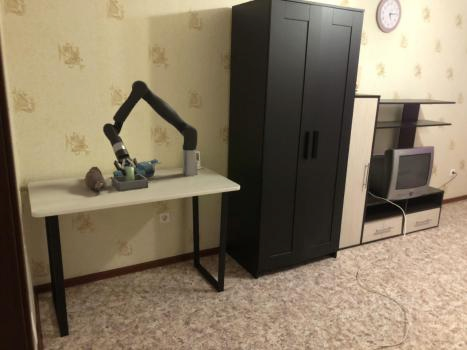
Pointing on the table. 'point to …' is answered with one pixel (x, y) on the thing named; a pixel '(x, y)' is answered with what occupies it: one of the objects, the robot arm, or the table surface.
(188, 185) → the table surface
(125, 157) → the robot arm
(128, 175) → the pale green rounded knob
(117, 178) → the bin
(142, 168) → the toy
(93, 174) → the cassava root
